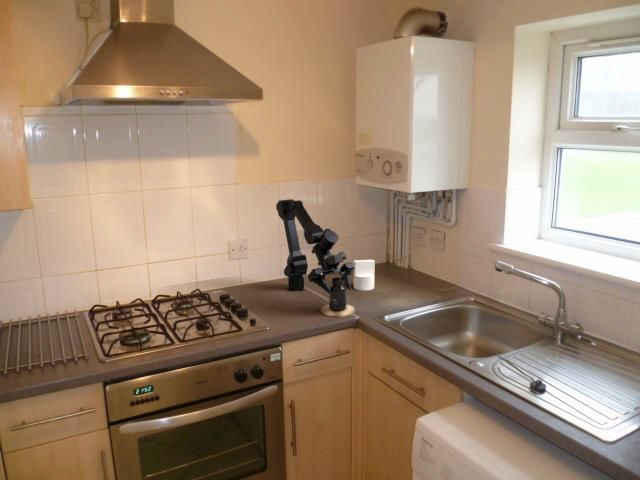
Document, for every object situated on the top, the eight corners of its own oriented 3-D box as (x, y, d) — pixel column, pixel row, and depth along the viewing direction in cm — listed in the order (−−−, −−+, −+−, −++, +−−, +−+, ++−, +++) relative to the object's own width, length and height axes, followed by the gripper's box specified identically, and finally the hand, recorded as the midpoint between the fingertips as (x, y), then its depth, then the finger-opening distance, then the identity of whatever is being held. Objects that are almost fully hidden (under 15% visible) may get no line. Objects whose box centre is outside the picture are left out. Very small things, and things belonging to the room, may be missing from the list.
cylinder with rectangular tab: (371, 283, 243) (372, 257, 240) (376, 289, 234) (376, 263, 232) (351, 284, 242) (352, 258, 239) (355, 290, 233) (356, 264, 230)
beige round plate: (323, 318, 202) (323, 315, 202) (319, 306, 214) (319, 304, 214) (357, 316, 204) (357, 314, 203) (351, 304, 216) (351, 302, 216)
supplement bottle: (329, 311, 206) (329, 281, 203) (328, 305, 212) (328, 276, 210) (347, 311, 206) (347, 281, 203) (346, 305, 212) (346, 276, 210)
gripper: (311, 248, 202) (327, 284, 195) (352, 242, 211) (369, 276, 205) (301, 264, 210) (316, 299, 203) (340, 257, 220) (356, 290, 213)
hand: (340, 290), depth 206 cm, fingers open, 9 cm apart
